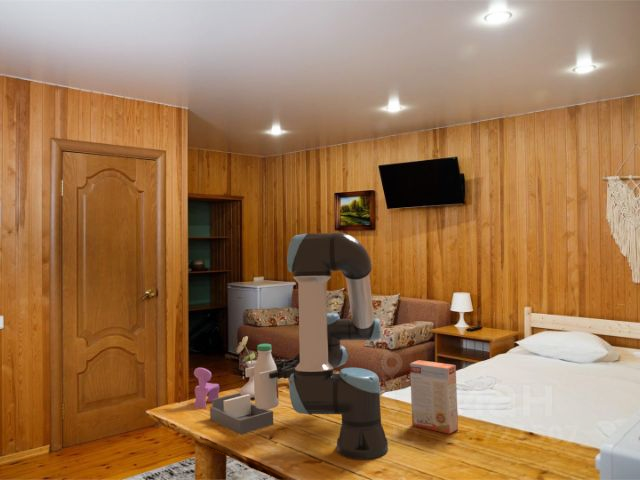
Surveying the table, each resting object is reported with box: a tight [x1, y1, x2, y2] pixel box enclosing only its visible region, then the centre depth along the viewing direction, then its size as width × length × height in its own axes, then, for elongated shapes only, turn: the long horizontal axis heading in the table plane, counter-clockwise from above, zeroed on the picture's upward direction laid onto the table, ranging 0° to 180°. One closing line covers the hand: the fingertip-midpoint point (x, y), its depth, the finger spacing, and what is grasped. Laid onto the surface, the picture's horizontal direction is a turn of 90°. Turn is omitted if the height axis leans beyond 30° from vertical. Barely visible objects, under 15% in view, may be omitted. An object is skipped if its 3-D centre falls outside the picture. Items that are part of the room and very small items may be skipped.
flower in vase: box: [236, 335, 257, 399], centre depth 216 cm, size 13×11×25 cm
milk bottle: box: [254, 343, 280, 410], centre depth 174 cm, size 8×8×20 cm
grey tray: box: [209, 392, 274, 435], centre depth 186 cm, size 20×13×7 cm, turn 40°
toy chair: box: [192, 367, 220, 410], centre depth 207 cm, size 8×9×15 cm
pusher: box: [223, 394, 252, 418], centre depth 188 cm, size 2×10×7 cm, turn 130°
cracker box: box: [409, 359, 459, 435], centre depth 174 cm, size 14×6×21 cm, turn 47°
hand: (252, 375), depth 171 cm, fingers closed on milk bottle, 7 cm apart
